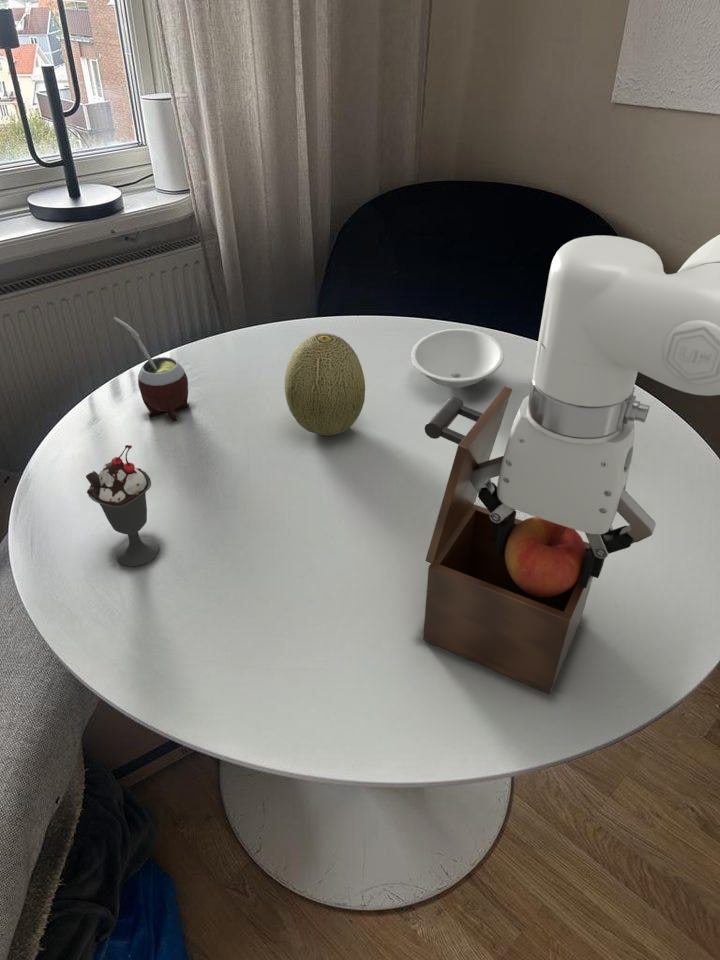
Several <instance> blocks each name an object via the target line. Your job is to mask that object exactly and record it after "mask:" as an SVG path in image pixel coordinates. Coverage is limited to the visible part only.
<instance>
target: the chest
mask: <svg viewBox="0 0 720 960" xmlns="http://www.w3.org/2000/svg"><path fill="white" fill-rule="evenodd" d="M490 514H491V513H490V512H489V510H488V509H487V508H486V507H483V506H481V505H477V504H475V503H474V504H473V506H472V507H471V508H470V510H469V511H468V513H467V514H466V516H465V517H464V519H463V520H462V522H461V523H460V525H459V526H458V528H457V529H456V531H455V532H454V534H453V535H452V536H451V538H450V539H449V541H448V542H447V544H446V545H445V547H444V548H443V550H442V551H441V553H440V554H439V556H438V557H437V559H436V560H435V562H434V563H433V564H430V563H429V565H428V569H427V583H426V596H425V606H424V607H425V610H424V621H423V622H424V623H423V632H422V633H423V635H422V639H423V641H425V642H428V643H430V644H432V645H435V646H437V647H440V648H442V649H444V650H446V651H449V652H451V653H453V654H455V655H458V656H460V657H463V658H464V659H467V660H469V661H472V662H475V663H476V664H479V665H481V666H484V667H485V668H488V669H490V670H493V671H495V672H497V673H499V674H502V675H504V676H507V677H509V678H512V679H513V680H516V681H518V682H521V683H522V684H525V685H528V686H530V687H531V688H535V689H537V690H539V691H541V692H543V693H546V694H549V695H551V693H552V691H553V689H554V686H555V684H556V682H557V680H558V679H557V678H558V676H559V674H560V671H561V669H562V667H563V664H564V662H565V659H566V657H567V654H568V652H569V650H570V647H571V645H572V643H573V640H574V637H575V635H576V632H577V630H578V628H579V625H580V623H581V622H582V618H583V614H584V611H585V607H586V603H587V600H588V596H589V592H590V589H591V586H592V582H593V579H594V577H592V576H591V577H590V580H589V582H588V584H587V587H586V588H583V587H580V585H579V580H580V578H579V579H578V580H577V582H576V583H575V584H574V585H573V586H572V587H571V588H569V589H568V590H567V591H565V592H563V593H561V594H559V595H557V596H553V597H548V598H542V597H536V596H533V595H530V594H528V593H527V592H525V591H524V590H522V589H521V588H520V587H519V586H518V585H517V584H516V583H515V582H514V581H513V579H512V578H511V576H510V574H509V572H508V569H507V566H506V561H505V552H504V553H503V555H502V556H500V557H497V556H495V555H494V550H495V543H496V542H493V541H491V536H492V529H493V521H492V520H491V519H490ZM522 521H523V520H522V519H519V518H516V517H515V523H514V527H515V526H516V525H517V524H518V523H520V522H522ZM584 544H585V547H586V553H587V552H588V550H589V548H590V543H589V542H587V541H584Z"/></svg>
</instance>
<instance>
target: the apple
mask: <svg viewBox="0 0 720 960" xmlns="http://www.w3.org/2000/svg"><path fill="white" fill-rule="evenodd" d="M578 532H579V531H578V530H575V529H572V528H568V527H565V526H562V525H559V524H556V523H553V522H550V521H547V520H544V519H541V518H538V517H535V516H532V517H529V518H525V519H523V520H522V522H520V523H518V524H517V525H516V526H515V527H514V528H513V529H512V531H511V533H510V535H509V537H508V539H507V542H506V546H505V561H506V566H507V569H508V572H509V574H510V576H511V578H512V579H513V581H514V582H515V583H516V584H517V585H518V586H519V587H520V588H521V589H522V590H524V591H525V592H527V593H528V594H530V595H533V596H536V597H542V598H548V597H553V596H557V595H559V594H561V593H563V592H565V591H567V590H568V589H569V588H571V587H572V586H573V585H574V584H575V583H576V582H577V580H578V579H579V578H580V576H581V572H582V569H583V565H584V561H585V557H586V554H587V553H586V547H585V544H584V542H585V541H584V540H583V538H582V536H581V534H580V533H578Z"/></svg>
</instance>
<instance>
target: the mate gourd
mask: <svg viewBox="0 0 720 960" xmlns="http://www.w3.org/2000/svg"><path fill="white" fill-rule="evenodd" d="M113 320H114V321H116V322H117V323H119V324H120V325H121V326H122V327H124V328H125V329H126V330H127V331H129V333H130V335H131V337H133V340H135V341H136V343H137V344H138V347H139V348H140V349H141V351H142V353H143V355H144V356H145V358H146V360H147V361H145V362H144V363H143V364H142V365H141V366H140V368H139V369H140V370H139V372H138V375H137V378H138V379H137V384H138V389H139V392H140V396H141V399H142V402H143V404H144V405H145V407H146V409H147V411H148V413H147V415H148V418H156V417H159V416H163V415H167V416H168V417H169V419H170V421H171V422H172V423H174V422H177V421H178V418H177V415H176V414H175V412H179V411H183V410H186V409H189V408H190V403H189V402H188V398H189V378H188V375H187V374H186V371H185V368H184V367H183V366H182V364H181V363H180V362H179V361H177V360H176V359H174V358H173V357H166V356H161V357H154V358H151V356H150V354H149V352H148V350H147V349H146V347H145V345H144V344H143V342H142V340H141V338H140V335H139V334H138V332H137V331H136V330H135V329H134V328H132V327H131V326H130V325H129V323H126V322H125V321H123V320H121V319H120V318H118V317H117V316H114V317H113Z"/></svg>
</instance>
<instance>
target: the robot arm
mask: <svg viewBox="0 0 720 960" xmlns="http://www.w3.org/2000/svg"><path fill="white" fill-rule="evenodd" d="M548 272H549V273H548V279H547V285H546V291H545V296H544V298H545V299H544V302H543V309H542V314H541V315H542V316H541V321H540V328H539V335H538V339H537V340H538V341H537V346H536V354H535V360H534V367H533V372H532V376H531V383H530V388H529V394H528V395H526V396H525V397H524V398H523V400H522V401H521V404H520V406H519V408H518V410H517V413H516V415H515V418H514V421H513V423H512V426H511V428H510V432H509V434H508V435H509V436H508V439H507V442H506V446H505V449H504V453H503V455H502V456H498V457H495V458H492V459H489V460H488V461H485V462H482V463H479V464H477V466H476V467H475V468H474V470H473V472H472V475H471V478H470V482H471V483H472V485H473V486H474V488H475V490H477V491H478V495H477V498H478V499H479V501H480V502H481V503H482V504H483V505H484V506H485V507H484V508H487V509H488V510H489V512H490V513H491V514H490V519H491V520H492V521H493V529H492V536H491V541H493V542H496V543H495V550H494V555H495V556H497V557H500V556H502V555H503V553H504V552H505V546H506V542H507V539H508V537H509V535H510V533H511V531H512V529H513V528H514V523H515V518H516V517H517V512H521V513H524V514H526V515H529V516H532V517H538V518H541V519H544V520H547V521H550V522H553V523H556V524H559V525H562V526H565V527H568V528H572V529H575V530H576V531H577V532H582V533H584V535H585V537H586V539H587V541H588V543H590V548H589V550H588V552H587V554H586V557H585V561H584V565H583V569H582V572H581V576H580V580H579V585H580V587H583V588H586V587H587V584H588V582H589V580H590V577H591V576H592V577H593V578H595V579H599V577H600V575H601V572H602V570H603V567H604V563H605V559H607V557H608V556H609V555H610V554H612V553H616V552H619V551H622V550H626V549H629V548H630V547H631V546H632V544H635V543H639V542H641V541H643V540H645V539H647V538H649V537H651V536H652V535H653V533H654V531H655V528H656V525H657V524H656V523H657V522H656V521H655V520H654V519H653V518H652V517H651V516H650V514H649V513H647V512H646V510H645V509H644V508H643V507H642V506H641V505H640V504H639V503H638V502H637V501H636V500H635V498H633V497H632V496H631V495H630V493H629V492H628V491H626V488H627V484H628V479H629V475H630V470H631V464H632V460H633V455H634V454H633V453H634V445H635V444H634V443H635V421H636V422H639V423H645V422H646V419H647V417H648V415H649V411H650V408H651V405H648V404H644V403H641V401H639V400H636V399H637V395H634V394H635V390H636V387H635V384H636V380H637V377H638V373H640V374H642V375H644V376H646V377H648V378H650V379H652V380H654V381H656V382H659V383H661V384H663V385H665V386H667V387H670V388H671V389H675V390H677V391H680V392H683V393H687V394H691V395H697V396H706V397H707V396H708V397H710V396H711V397H712V396H720V234H718V235H717V236H715V237H713V238H711V239H709V240H708V241H707V242H706V243H704V244H703V245H702V246H700V247H699V248H698V249H696V251H694V252H693V253H692V254H691V255H689V257H688V258H687V260H686V261H684V263H683V264H682V266H681V267H680V268H679V270H677V272H674V273H668V274H667V273H666V272H665V271H664V264H663V261H662V259H661V257H660V255H659V254H658V253H657V252H656V250H655V249H653V248H652V247H650V246H649V245H647V244H645V243H643V242H640V241H637V240H634V239H631V238H628V237H622V236H616V235H615V236H614V235H589V236H582V237H577V238H573V239H572V240H569V241H567V242H566V243H564V244H563V245H562V246H560V248H558V250H557V251H556V253H555V255H554V256H553V258H552V260H551V263H550V267H549V271H548ZM496 477H498V478H497V485H496V484H495V482H493V481H492V479H493V478H496ZM617 513H618V514H619V515H620V517H622V518H623V519H624V520H625V522H626V523H627V524H628V525H622V526H620V527H617V528H614V527H613V525H612V524H613V523H614V520H615V518H616V515H617Z"/></svg>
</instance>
